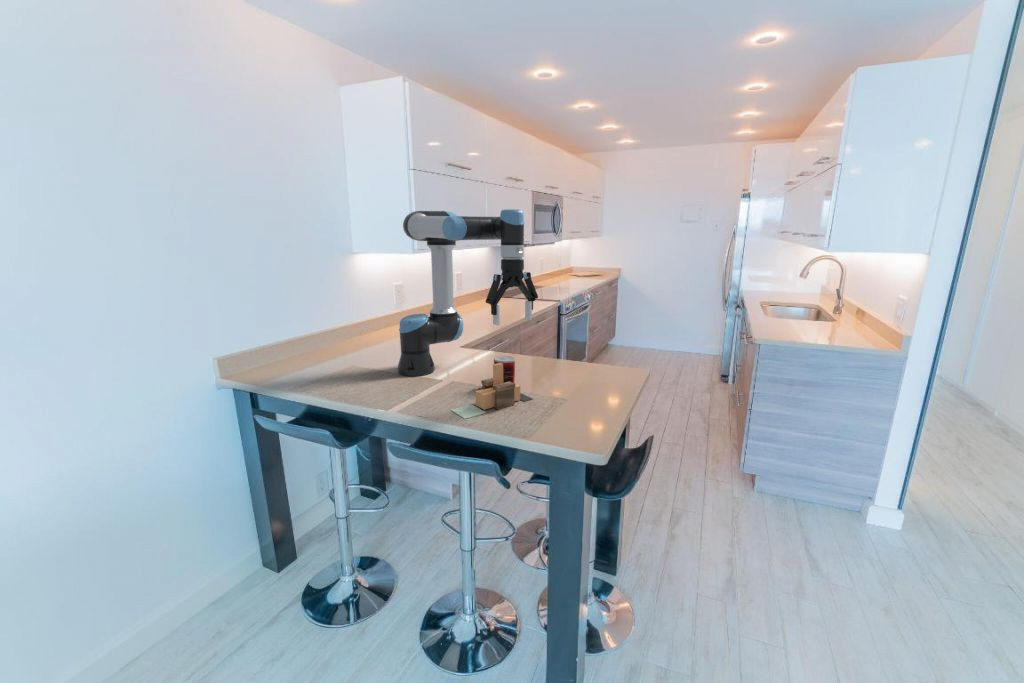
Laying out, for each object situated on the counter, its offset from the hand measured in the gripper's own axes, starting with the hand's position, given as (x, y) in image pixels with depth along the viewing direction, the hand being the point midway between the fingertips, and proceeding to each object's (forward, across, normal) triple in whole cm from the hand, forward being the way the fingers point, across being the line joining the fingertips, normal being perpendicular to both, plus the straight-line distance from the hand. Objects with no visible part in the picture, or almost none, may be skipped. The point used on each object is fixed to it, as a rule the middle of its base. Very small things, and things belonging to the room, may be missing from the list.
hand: (512, 322), depth 157 cm
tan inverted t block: (+27, -7, -1) cm, 28 cm away
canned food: (+27, +5, +12) cm, 30 cm away
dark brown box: (+27, -7, -1) cm, 28 cm away
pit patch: (+27, +3, -1) cm, 27 cm away
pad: (+27, -19, -1) cm, 33 cm away
